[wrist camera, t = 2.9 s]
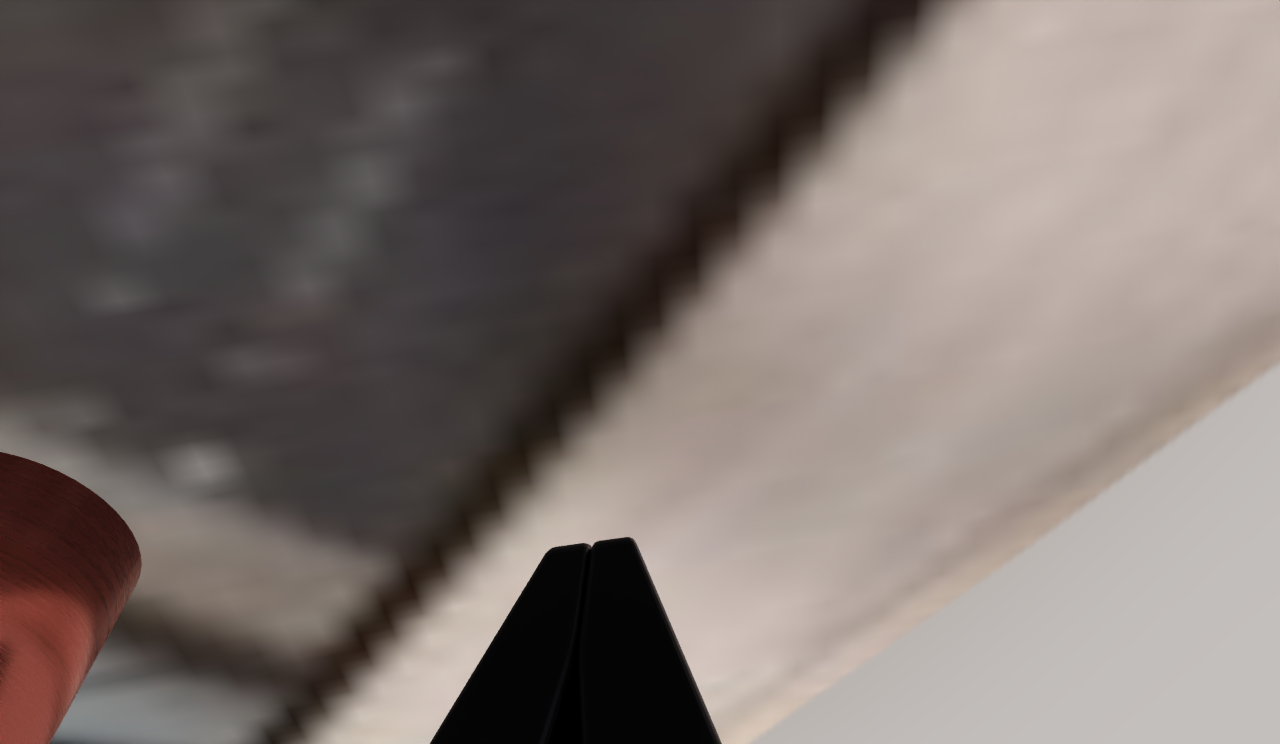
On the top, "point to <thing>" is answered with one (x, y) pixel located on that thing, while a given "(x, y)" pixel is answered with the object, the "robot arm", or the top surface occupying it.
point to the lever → (54, 592)
